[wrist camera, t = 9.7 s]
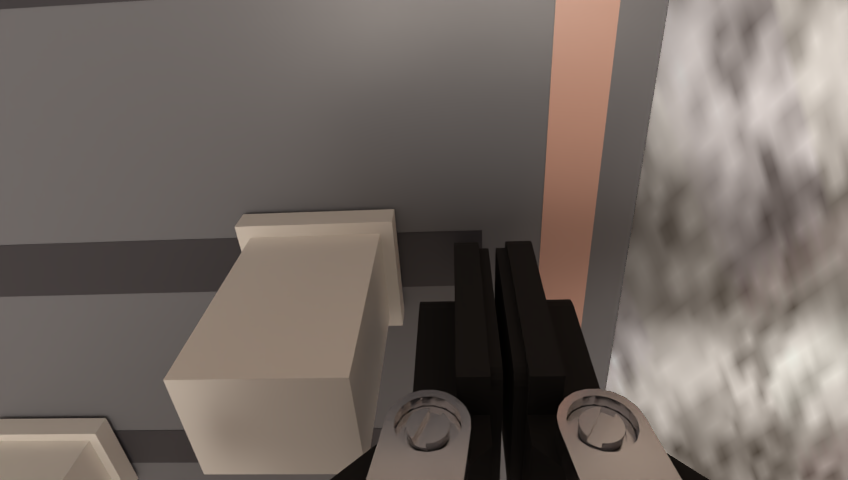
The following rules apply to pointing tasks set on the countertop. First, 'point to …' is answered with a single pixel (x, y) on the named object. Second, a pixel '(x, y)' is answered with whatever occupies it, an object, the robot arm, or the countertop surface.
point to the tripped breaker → (292, 345)
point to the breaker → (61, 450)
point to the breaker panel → (295, 172)
